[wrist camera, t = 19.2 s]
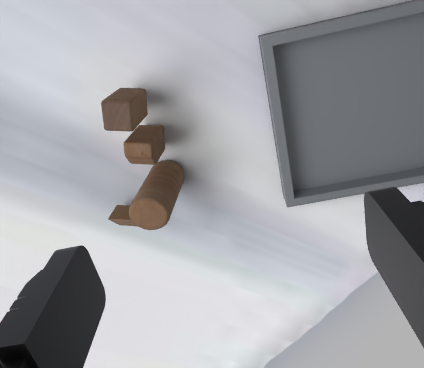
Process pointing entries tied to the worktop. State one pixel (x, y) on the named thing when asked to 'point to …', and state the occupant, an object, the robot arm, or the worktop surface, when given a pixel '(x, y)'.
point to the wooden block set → (143, 161)
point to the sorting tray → (348, 103)
